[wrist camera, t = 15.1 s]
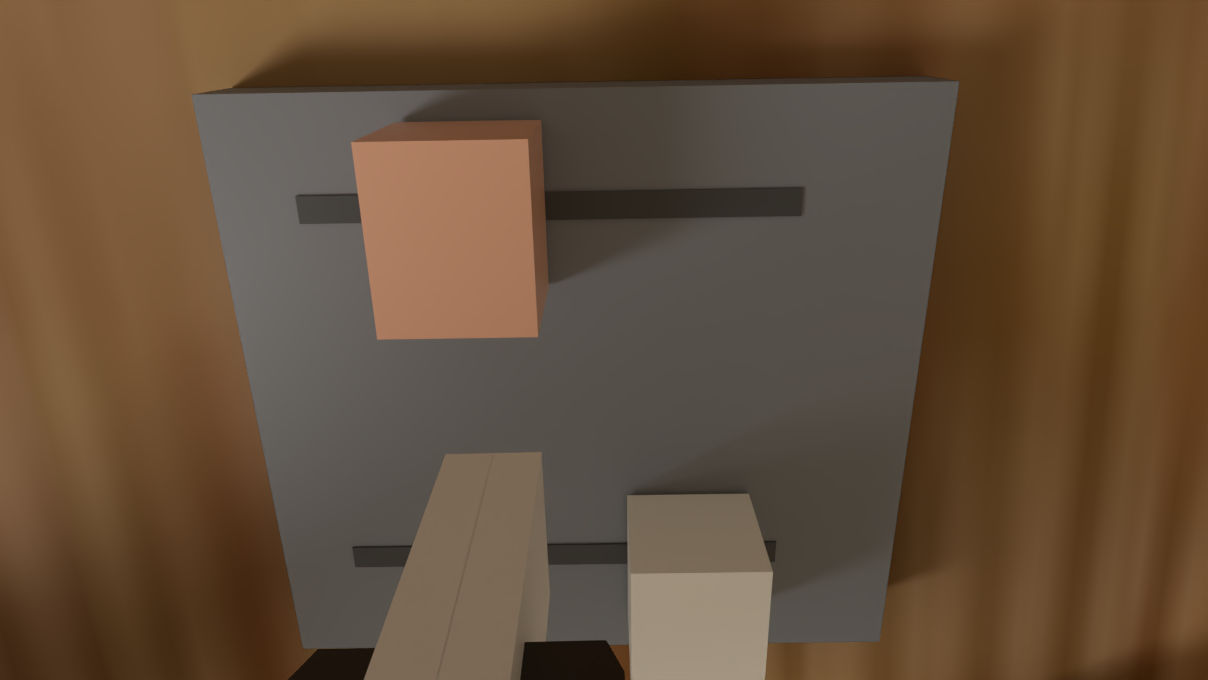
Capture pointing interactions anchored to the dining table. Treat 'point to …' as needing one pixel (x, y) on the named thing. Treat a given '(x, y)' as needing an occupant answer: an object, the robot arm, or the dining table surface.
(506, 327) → the salmon orange block
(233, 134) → the console
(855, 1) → the dining table surface
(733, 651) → the block
